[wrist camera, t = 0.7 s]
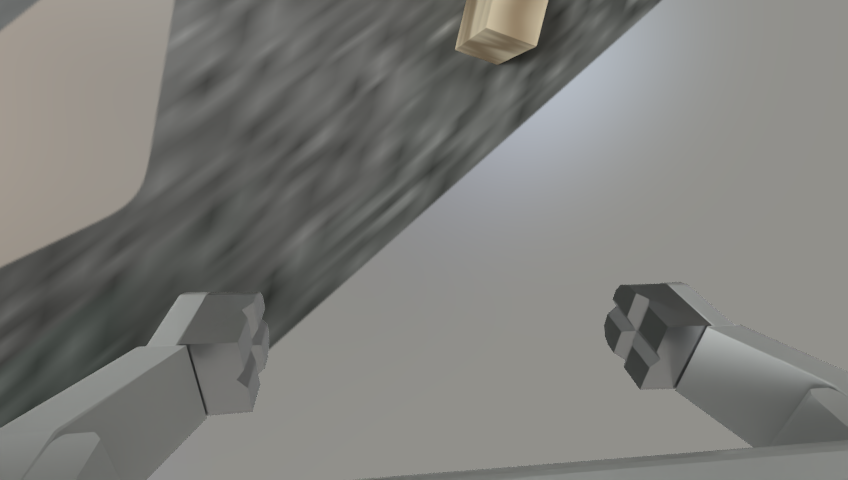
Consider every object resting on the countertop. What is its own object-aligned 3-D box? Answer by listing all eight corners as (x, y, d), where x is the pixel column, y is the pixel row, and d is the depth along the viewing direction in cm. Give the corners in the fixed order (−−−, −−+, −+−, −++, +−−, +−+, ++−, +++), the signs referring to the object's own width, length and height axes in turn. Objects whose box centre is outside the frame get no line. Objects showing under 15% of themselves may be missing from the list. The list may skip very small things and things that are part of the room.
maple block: (454, 49, 43) (486, 27, 35) (466, -1, 42) (501, -35, 35) (497, 64, 44) (536, 46, 37) (509, 16, 44) (551, -13, 36)
